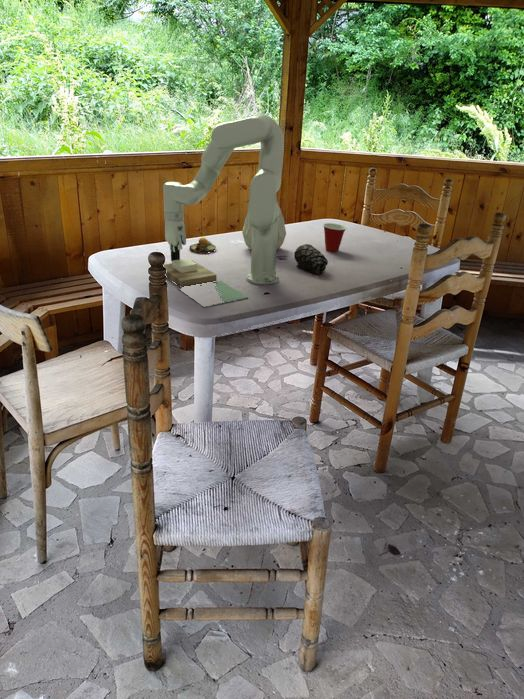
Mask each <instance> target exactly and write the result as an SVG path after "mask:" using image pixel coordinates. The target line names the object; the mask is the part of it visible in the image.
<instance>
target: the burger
mask: <svg viewBox="0 0 524 699" xmlns="http://www.w3.org/2000/svg"><path fill="white" fill-rule="evenodd" d="M216 248H217V246H216V245H215V244H213V243H212V242H211V241H210V240H208V239H207V238H206V237H205V236H204V237H200V238H199V239H198V242H197V243H194V244H190V245H189V251H190V250H191V251H190V252H192V251H193V252H195V253H199V254H200V253H203V254H205V253H208V252H213V253H215V252H214V250H215V249H216ZM193 252H192V253H193Z"/></svg>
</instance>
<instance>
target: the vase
mask: <svg viewBox="0 0 524 699" xmlns="http://www.w3.org/2000/svg"><path fill="white" fill-rule="evenodd" d="M277 198H278V197H277V196H276V200H275V201H276V203H277V204H278V207H279V222H278V231H277V245H276V251H277V250H278V249H280V248H281V247H282V246H283V244H284V241H285V239H286V235H287V231H286V226H285V217H284V215H283V213H282V209H281V208H280V205H279V201H278V199H277ZM252 230H253V227H252V226H251V225H250V223H249V221H248V212H247V214H246V215H245V218H244V224H243V227H242V231H241V233H242V237H243V240H244V244H245V245H246V246H247V248H249V249H250V250H252Z"/></svg>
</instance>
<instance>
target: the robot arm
mask: <svg viewBox="0 0 524 699" xmlns="http://www.w3.org/2000/svg"><path fill="white" fill-rule="evenodd" d="M210 137H211V138H210V141H209V143H208V145H207V146H206V148H205V150H203V153H202V155H201V156H200V159H201V164H200V168H199V169H198V171H197V173H196V175H195V176H194V178H193V179H192V181H191V182H189V183H187V184H182V183H181V182H179V181H167V182H164V183H163V186H162V191H163V193H162V194H163V216H164V217H163V219H164V239H165V241H166V242H167V243H168V245H169V250H170V261H171V262H172V261H174V260H180V259H181V250H183V246H186V244H187V235H186V234H187V232H186V226H185V215H184V214H185V212H184V211H185V210H184V205H185V206H194V205H196V204H198V203H200V202H201V201H202V200H204V199H205V198H206V197H207V195H208V193H209V192H210V191H211V189H212V188H213V186H214V184H215V182H216V181H217V178H218V177H219V175H220V173H221V172H222V169H223V168H224V166H225V165H226V163H227V161H228V159H229V158H230V156H231V155H232V153H233V152H234V150H235V149H236V148H240V147H246V146H250V145H255V144H259V143H260V151H259V155H258V156H259V157H258V158H259V159H258V168H257V173H256V174H255V175H254V176H253V177H252V179H251V181H250V185H249V192H248V193H249V194H248V203H247V204H248V205H247V213H248V221H249V223H250V225H251V226H252V227H253V230H252V249H251V252H250V253H251V260H250V273H248V274H247V275H246V280H247V281H248V282H249V283H252V284H256V285H263V286H265V285H273V284H276V283H278V281H279V279H280V278H279V275H277V270H276V259H277V250H276V245H277V231H278V222H279V207H280V206H279V207H278V205H279V203H278V204H277V203H276V201H275V200H276V197H277V192H278V191H279V190H280V188H281V185H282V173H283V164H284V154H285V153H284V152H285V151H284V150H285V138H284V132H283V131H282V128H281V126H280V124H278V122H276V120H275V119H273V118H272V117H270V116H269V115H266V114H256V115H253V116H250V117H246V118H242V119H238V120H234V121H224V122H220V123H218V124H217V125H215V126H214V127H213V129H212V131H211V135H210Z"/></svg>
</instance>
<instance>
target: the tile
mask: <svg viewBox="0 0 524 699" xmlns="http://www.w3.org/2000/svg"><path fill="white" fill-rule="evenodd" d="M191 260H192V259H190V258H182V259H181V258H180V260H174V261H171V263H172V267H173V268H174V269H176V270H177V271H179V272H181V273H184V272H189V271H195V270H197V264H196V263H197V262H196V261H194V260H193V261H194V262H193V261H191ZM195 262H196V263H195Z"/></svg>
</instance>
